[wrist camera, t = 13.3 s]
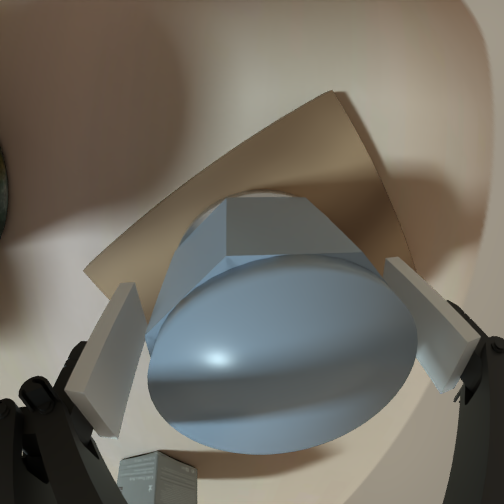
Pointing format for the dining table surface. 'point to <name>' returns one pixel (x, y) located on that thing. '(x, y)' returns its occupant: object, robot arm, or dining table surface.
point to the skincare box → (157, 480)
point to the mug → (3, 193)
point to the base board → (266, 177)
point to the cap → (274, 331)
